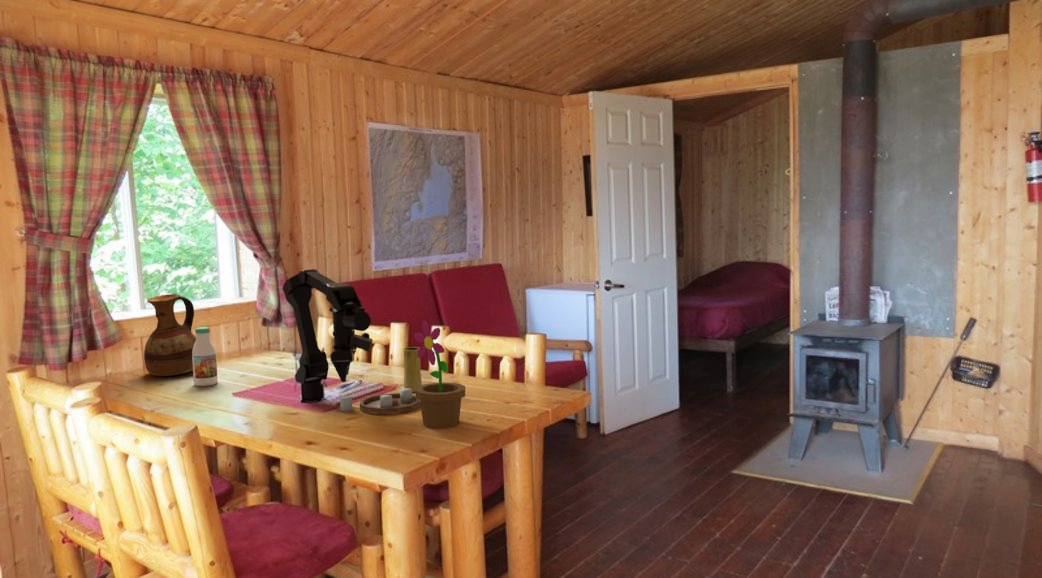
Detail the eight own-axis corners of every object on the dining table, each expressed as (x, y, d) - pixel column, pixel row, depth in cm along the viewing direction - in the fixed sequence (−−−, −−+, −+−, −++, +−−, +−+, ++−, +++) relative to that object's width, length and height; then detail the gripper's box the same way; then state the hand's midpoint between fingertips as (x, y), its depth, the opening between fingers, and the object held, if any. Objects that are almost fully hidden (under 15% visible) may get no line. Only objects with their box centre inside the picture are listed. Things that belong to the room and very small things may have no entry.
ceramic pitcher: (134, 376, 284) (128, 295, 281) (183, 365, 301) (178, 289, 298) (166, 382, 274) (161, 298, 270) (215, 370, 291) (210, 292, 287)
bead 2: (380, 411, 230) (379, 398, 229) (380, 407, 234) (380, 395, 233) (392, 410, 230) (392, 397, 230) (392, 407, 234) (392, 394, 234)
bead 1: (339, 412, 232) (339, 399, 231) (341, 409, 235) (340, 396, 235) (352, 411, 232) (351, 398, 232) (353, 408, 236) (352, 395, 235)
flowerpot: (405, 424, 218) (402, 319, 215) (442, 413, 229) (440, 313, 225) (439, 434, 209) (437, 324, 205) (477, 422, 219) (475, 318, 216)
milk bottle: (189, 385, 268) (185, 329, 265) (205, 380, 275) (202, 325, 273) (206, 387, 265) (202, 330, 263) (222, 382, 272) (219, 326, 270)
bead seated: (400, 404, 238) (400, 391, 237) (400, 401, 241) (400, 388, 241) (412, 403, 238) (411, 390, 238) (412, 400, 242) (411, 388, 241)
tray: (357, 416, 227) (357, 410, 227) (361, 400, 245) (361, 394, 245) (420, 413, 229) (420, 407, 229) (419, 397, 248) (419, 392, 247)
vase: (418, 393, 253) (417, 350, 252) (401, 392, 255) (399, 349, 253) (424, 388, 259) (423, 346, 258) (407, 387, 261) (406, 346, 259)
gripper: (368, 331, 223) (370, 384, 224) (372, 321, 241) (373, 370, 243) (329, 333, 221) (331, 386, 223) (335, 322, 239) (337, 371, 241)
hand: (345, 378), depth 233 cm, fingers open, 9 cm apart
